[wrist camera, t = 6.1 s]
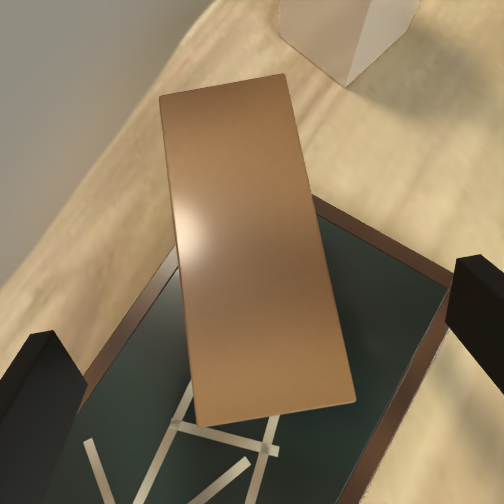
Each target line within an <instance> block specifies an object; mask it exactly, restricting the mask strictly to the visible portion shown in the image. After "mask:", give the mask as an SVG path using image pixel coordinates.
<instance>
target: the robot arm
mask: <svg viewBox="0 0 504 504" xmlns="http://www.w3.org/2000/svg"><path fill="white" fill-rule="evenodd" d="M445 323H446V324H447V325H448V327H449V328H450V329H451V330H452V332H453V333H454V334H455V335H456V336H457V338H458V339H459V340H460V341H461V343H462V344H463V345H464V346H465V348H466V349H467V350H468V351H469V352H470V354H471V355H472V356H473V357H474V359H475V360H476V361H477V362H478V364H479V365H480V366H481V367H482V368H483V370H484V371H485V372H486V373H487V375H488V376H489V377H490V378H491V380H492V381H493V382H494V383H495V384H496V386H497V387H498V388H499V389H500V391H501V392H502V393H503V394H504V273H503V272H502V271H501V270H499V269H498V268H497V267H496V266H494V265H493V264H492V263H491V262H489V261H488V260H487V259H486V258H484V257H483V256H482V255H481V254H479V255H474V256H468V257H462V258H457V259H456V264H455V270H454V275H453V280H452V286H451V291H450V296H449V302H448V307H447V312H446V318H445ZM87 386H88V383H87V382H86V380H85V379H84V377H83V376H82V374H81V372H80V371H79V369H78V368H77V366H76V365H75V363H74V362H73V360H72V358H71V357H70V355H69V354H68V352H67V351H66V349H65V347H64V346H63V344H62V343H61V341H60V340H59V338H58V336H57V335H56V333H55V332H54V330H51V331H45V332H40V333H34V334H30V335H29V337H28V338H27V340H26V341H25V343H24V345H23V346H22V348H21V349H20V351H19V352H18V354H17V355H16V357H15V358H14V360H13V361H12V363H11V365H10V366H9V368H8V369H7V371H6V372H5V374H4V375H3V377H2V378H1V380H0V504H42V503H43V500H44V498H45V495H46V492H47V490H48V487H49V485H50V482H51V480H52V477H53V474H54V472H55V469H56V467H57V464H58V461H59V459H60V456H61V454H62V451H63V448H64V446H65V443H66V441H67V438H68V435H69V433H70V430H71V428H72V425H73V422H74V420H75V417H76V415H77V412H78V409H79V407H80V404H81V402H82V399H83V396H84V394H85V391H86V389H87Z"/></svg>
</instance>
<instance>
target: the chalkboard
mask: <svg viewBox="0 0 504 504" xmlns="http://www.w3.org/2000/svg"><path fill="white" fill-rule="evenodd" d="M312 199H313V203H314V208H315V212H316V217H317V221H318V226H319V231H320V235H321V240H322V244H323V249H324V253H325V258H326V262H327V267H328V271H329V276H330V281H331V285H332V290H333V294H334V299H335V303H336V308H337V312H338V317H339V321H340V326H341V331H342V335H343V340H344V344H345V349H346V353H347V358H348V362H349V367H350V371H351V376H352V381H353V385H354V390H355V394H356V401H355V402H354V403H349V404H342V405H336V406H330V407H324V408H318V409H312V410H306V411H300V412H294V413H288V414H282V415H276V416H270V417H264V418H258V419H251V420H245V421H239V422H233V423H227V424H221V425H215V426H209V427H203V428H199V427H198V426H197V424H196V416H195V407H194V398H193V390H192V381H191V372H190V364H189V355H188V347H187V338H186V329H185V321H184V312H183V303H182V295H181V286H180V277H179V269H178V260H177V251H176V244H175V245H174V247H173V248H172V250H171V251H170V253H169V254H168V255H167V257H166V258H165V260H164V261H163V263H162V264H161V265H160V267H159V268H158V270H157V271H156V273H155V274H154V275H153V277H152V278H151V280H150V281H149V283H148V284H147V285H146V287H145V288H144V290H143V291H142V293H141V294H140V295H139V297H138V298H137V300H136V301H135V303H134V304H133V305H132V307H131V308H130V310H129V311H128V313H127V314H126V315H125V317H124V318H123V320H122V321H121V323H120V324H119V326H118V327H117V328H116V330H115V331H114V333H113V334H112V336H111V337H110V338H109V340H108V341H107V343H106V344H105V346H104V347H103V348H102V350H101V351H100V353H99V354H98V356H97V357H96V358H95V360H94V361H93V363H92V364H91V366H90V367H89V368H88V370H87V371H86V373H85V374H84V376H83V377H84V379H85V380H86V382H87V383H88V386H87V389H86V391H85V394H84V396H83V399H82V402H81V404H80V407H79V409H78V412H77V415H76V417H75V420H74V422H73V425H72V428H71V430H70V433H69V435H68V438H67V441H66V443H65V446H64V448H63V451H62V454H61V456H60V459H59V461H58V464H57V467H56V469H55V472H54V474H53V477H52V480H51V482H50V485H49V487H48V490H47V492H46V495H45V498H44V500H43V503H42V504H359V503H360V501H361V499H362V497H363V495H364V493H365V491H366V490H367V488H368V486H369V484H370V482H371V480H372V478H373V476H374V474H375V472H376V470H377V468H378V466H379V464H380V462H381V460H382V459H383V457H384V455H385V453H386V451H387V449H388V447H389V445H390V443H391V441H392V439H393V437H394V435H395V433H396V431H397V430H398V428H399V426H400V424H401V422H402V420H403V418H404V416H405V414H406V412H407V410H408V408H409V406H410V404H411V402H412V400H413V399H414V397H415V395H416V393H417V391H418V389H419V387H420V385H421V383H422V381H423V379H424V377H425V375H426V373H427V371H428V369H429V368H430V366H431V364H432V362H433V360H434V358H435V356H436V354H437V352H438V350H439V348H440V346H441V344H442V342H443V340H444V339H445V337H446V335H447V333H448V331H449V329H450V328H449V327H448V325H447V324H446V323H445V318H446V312H447V307H448V302H449V296H450V291H451V286H452V280H453V275H454V273H452V272H450V271H448V270H447V269H445V268H443V267H441V266H440V265H438V264H436V263H434V262H432V261H431V260H429V259H427V258H425V257H423V256H422V255H420V254H418V253H416V252H415V251H413V250H411V249H409V248H407V247H406V246H404V245H402V244H400V243H398V242H397V241H395V240H393V239H391V238H390V237H388V236H386V235H384V234H382V233H381V232H379V231H377V230H375V229H373V228H372V227H370V226H368V225H366V224H364V223H363V222H361V221H359V220H357V219H356V218H354V217H352V216H350V215H348V214H347V213H345V212H343V211H341V210H339V209H338V208H336V207H334V206H332V205H331V204H329V203H327V202H325V201H323V200H322V199H320V198H318V197H316V196H314V195H313V194H312Z"/></svg>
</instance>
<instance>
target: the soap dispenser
mask: <svg viewBox="0 0 504 504" xmlns="http://www.w3.org/2000/svg"><path fill="white" fill-rule="evenodd" d="M419 2H420V0H280V1H279V36H280V37H281V38H282V39H283V40H285V41H286V42H287V43H288V44H290V45H291V46H292V47H293V48H295V49H296V50H297V51H298V52H300V53H301V54H302V55H303V56H305V57H306V58H307V59H308V60H310V61H311V62H312V63H313V64H315V65H316V66H317V67H318V68H320V69H321V70H322V71H324V72H325V73H326V74H327V75H329V76H330V77H331V78H332V79H334V80H335V81H336V82H337V83H339V84H340V85H341V86H342V87H344V88H345V87H347V86H348V85H349V84H350V83H351V82H352V81H353V80H354V79H355V78H356V77H357V76H358V75H360V74H361V73H362V72H363V71H364V70H365V69H366V68H367V67H368V66H369V65H370V64H372V63H373V62H374V61H375V60H376V59H377V58H378V57H379V56H380V55H381V54H382V53H383V52H385V51H386V50H387V49H388V48H389V47H390V46H391V45H392V44H393V43H394V42H395V41H396V40H398V39H399V38H400V37H401V36H402V35H403V34H404V33H405V32H406V31H407V29H408V26H409V24H410V22H411V20H412V18H413V15H414V13H415V11H416V9H417V6H418V4H419Z"/></svg>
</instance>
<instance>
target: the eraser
mask: <svg viewBox="0 0 504 504" xmlns="http://www.w3.org/2000/svg"><path fill="white" fill-rule="evenodd" d="M159 105H160V113H161V122H162V130H163V139H164V148H165V156H166V165H167V174H168V182H169V191H170V200H171V208H172V217H173V226H174V234H175V243H176V251H177V260H178V269H179V277H180V286H181V295H182V303H183V312H184V321H185V329H186V338H187V347H188V355H189V364H190V372H191V381H192V390H193V398H194V407H195V416H196V424H197V426H198V427H199V428H203V427H209V426H215V425H221V424H227V423H233V422H239V421H245V420H251V419H258V418H264V417H270V416H276V415H282V414H288V413H294V412H300V411H306V410H312V409H318V408H324V407H330V406H336V405H342V404H349V403H354V402H355V401H356V394H355V390H354V385H353V381H352V376H351V371H350V367H349V362H348V358H347V353H346V349H345V344H344V340H343V335H342V331H341V326H340V321H339V317H338V312H337V308H336V303H335V299H334V294H333V290H332V285H331V281H330V276H329V271H328V267H327V262H326V258H325V253H324V249H323V244H322V240H321V235H320V231H319V226H318V221H317V217H316V212H315V208H314V203H313V199H312V194H311V190H310V185H309V181H308V176H307V171H306V167H305V162H304V158H303V153H302V149H301V144H300V140H299V135H298V131H297V126H296V121H295V117H294V112H293V108H292V103H291V99H290V94H289V90H288V85H287V80H286V76H285V74H277V75H272V76H266V77H261V78H255V79H250V80H244V81H239V82H233V83H228V84H222V85H217V86H211V87H206V88H200V89H195V90H189V91H184V92H178V93H173V94H167V95H162V96H159Z"/></svg>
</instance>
